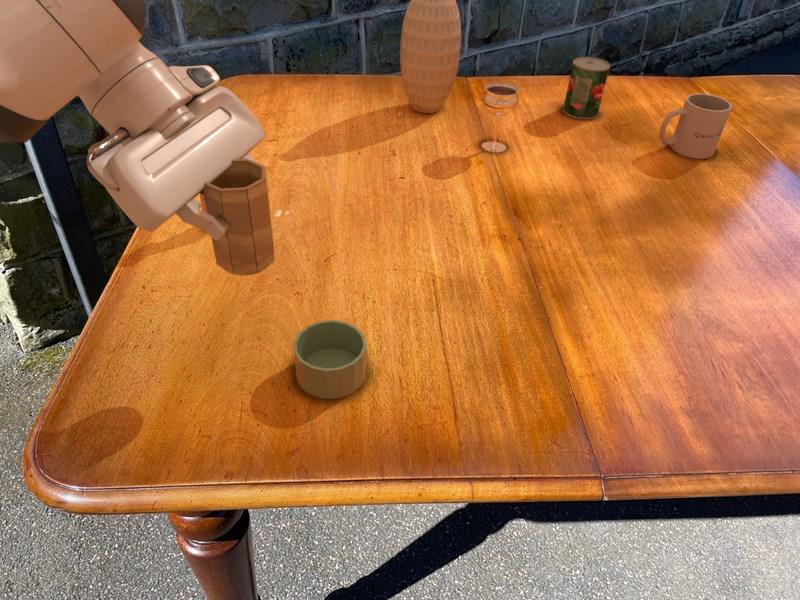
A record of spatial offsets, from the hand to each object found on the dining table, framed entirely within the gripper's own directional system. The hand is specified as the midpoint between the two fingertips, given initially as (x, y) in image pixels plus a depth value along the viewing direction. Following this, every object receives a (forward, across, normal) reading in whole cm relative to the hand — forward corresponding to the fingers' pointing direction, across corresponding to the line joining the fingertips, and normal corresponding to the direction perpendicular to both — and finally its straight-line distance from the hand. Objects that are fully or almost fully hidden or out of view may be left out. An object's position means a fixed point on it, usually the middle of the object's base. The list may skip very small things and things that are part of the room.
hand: (244, 214), depth 68 cm
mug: (+50, +85, -20) cm, 101 cm away
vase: (+12, +81, +18) cm, 84 cm away
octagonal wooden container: (+4, 0, +5) cm, 6 cm away
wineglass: (+24, +69, +5) cm, 73 cm away
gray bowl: (+21, 0, +8) cm, 23 cm away
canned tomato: (+34, +94, -4) cm, 100 cm away
